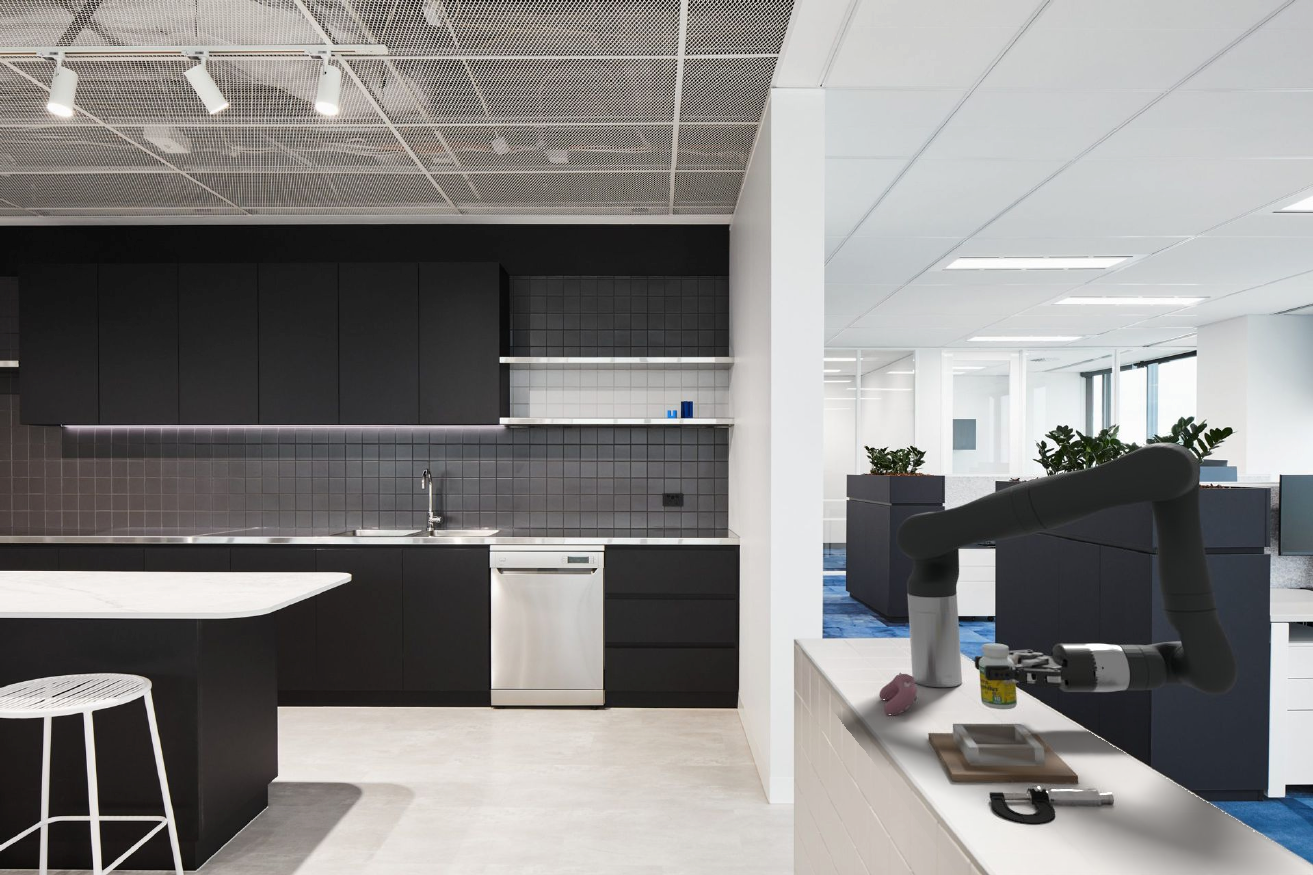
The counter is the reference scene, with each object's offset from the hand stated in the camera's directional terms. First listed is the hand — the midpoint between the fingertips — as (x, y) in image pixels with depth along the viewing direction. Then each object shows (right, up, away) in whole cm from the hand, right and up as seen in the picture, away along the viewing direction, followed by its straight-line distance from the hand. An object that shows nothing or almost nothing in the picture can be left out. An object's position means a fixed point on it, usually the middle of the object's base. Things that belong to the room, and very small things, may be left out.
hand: (980, 667), depth 125 cm
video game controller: (-10, -10, +10) cm, 18 cm away
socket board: (-4, -9, -15) cm, 18 cm away
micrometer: (-4, -9, -32) cm, 33 cm away
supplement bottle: (+3, -6, -1) cm, 7 cm away
